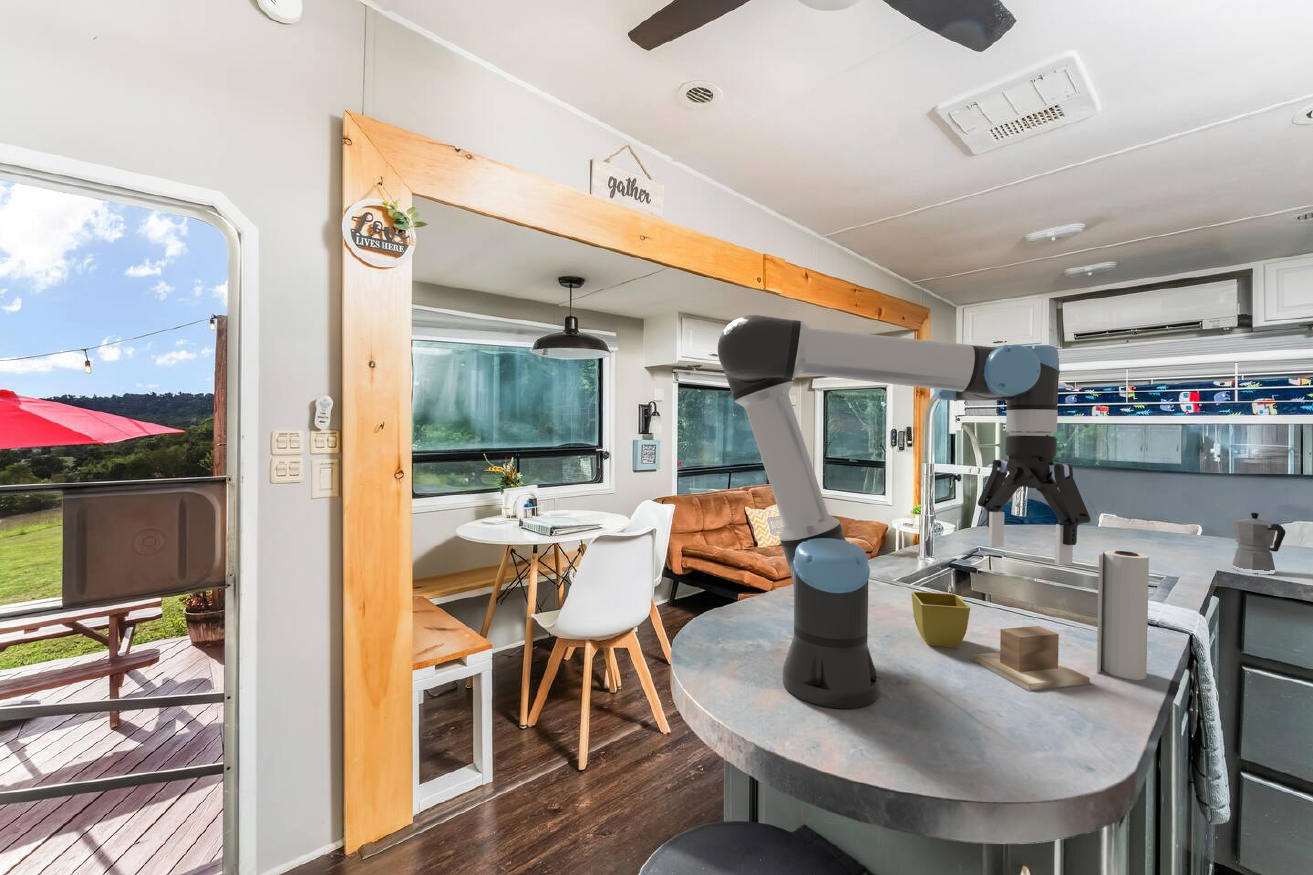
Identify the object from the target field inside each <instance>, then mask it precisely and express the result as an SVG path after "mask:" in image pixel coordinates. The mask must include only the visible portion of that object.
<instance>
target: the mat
mask: <svg viewBox="0 0 1313 875" xmlns="http://www.w3.org/2000/svg"><path fill="white" fill-rule="evenodd" d="M968 660H970V661H971V662H973V663H975V664H977V665H978V666H980V667H982V668H984V669H985V670H987V671H989V672H992V673H993V674H995V675H996V676H999V677H1000V678H1003V679H1004V680H1006V681H1008V682H1010V683H1012V684H1013V685H1015V686H1017V687H1019V688H1021V689H1023V690H1024V691H1027V692H1028V693H1032V692H1033V693H1034V692H1040V691H1041V692H1043V691H1050V690H1060V689H1061V690H1063V689H1070V688H1071V689H1072V688H1079V687H1080V688H1081V687H1089V686H1096V684H1094V683H1093V682H1090V684H1081V685H1072V686H1062V687H1052V688H1043V689H1033V690H1028V689H1026V688H1024V687H1023V686H1021V685H1019V684H1017V683H1015V682H1013V681H1011V680H1010V679H1008V678H1006V677H1004V676H1002V675H1000V674H998V673H997V672H995V671H993V670H991V669H989V668H987V667H985V666H984V665H982V664H980V663H978V662H976V661H974V660H973V658H969V659H968Z"/></svg>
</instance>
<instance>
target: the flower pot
mask: <svg viewBox="0 0 1313 875" xmlns="http://www.w3.org/2000/svg"><path fill="white" fill-rule="evenodd" d="M911 602H912V611H913V612H912V613H913V618H914V623H915V626H916V629H917V630H918V632H919V634H920V637H921V638H922V639H923V640H924V642H925V644H926V645H927V646H931V647H943V648H954V649H956V648H957V647H959V646H960V645H961V643H962V641H963V640H964V638H965V635H966V634H967V630H968V624H969V618H970V613H971V607H970V605H968V604H967V603H966V602H965V601H964V600H963V599H962V598H961V596H959V595H957V594H955V593H942V592H927V591H911Z"/></svg>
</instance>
